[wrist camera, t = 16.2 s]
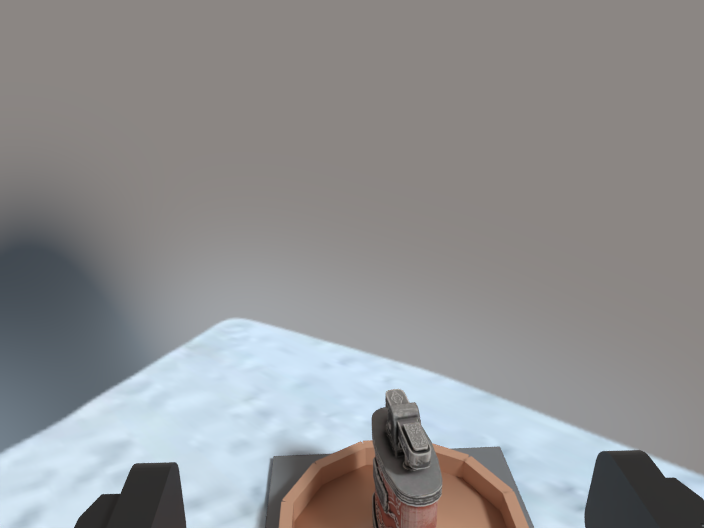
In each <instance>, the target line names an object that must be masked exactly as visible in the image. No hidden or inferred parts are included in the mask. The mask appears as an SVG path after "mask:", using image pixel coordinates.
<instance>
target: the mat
mask: <svg viewBox="0 0 704 528" xmlns="http://www.w3.org/2000/svg"><path fill="white" fill-rule="evenodd" d="M452 450H455V451H458V452H461V453H465V454H468V455H469V457H470V456H472V457H473V458H474V459H476V460H477V461H478V462H479V463H481V464H482V465H483V466H484V467H485V468H487V469H488V470H489V471H490V472H492V473H493V474H494V475H495V476H497V477H498V478H499V479H500V480H501V481H503V482H504V483H505V484H506V485H508V486H509V487H510V488H511V489H513V491H514V492H515V495H516V497H517V500H518V502H519V504H520V507H521V509H522V512H523V514H524V517H525V519H526V521H527V524H528V526H529V528H534V526H533V524H532V521H531V519H530V517H529V514H528V512H527V510H526V507H525V505H524V502H523V500H522V498H521V495H520V493H519V491H518V488H517V486H516V484H515V481H514V479H513V477H512V474H511V472H510V469H509V467H508V465H507V462H506V460H505V458H504V455H503V453H502V451H501V448H500V447H480V448H457V449H452ZM329 455H331V454H316V455H293V456H274V457H273V466H272V474H271V483H270V491H269V500H268V508H267V517H266V525H265V528H279V522H280V511H281V502H282V500H283V498H284V497H285V496H286V495H287V494H288V492H289V491H290V490H291V489H292V488H293V486H294V485H295V484H296V483H297V482H298V480H299V479H300V478H301V477H302V475H303V474H304V473H305V472H306V471H307V469H308V468H309V467H310V466H311V465H312V463H315V461H317V460H319V459H322V458H324V457H326V456H329Z"/></svg>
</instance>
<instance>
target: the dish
mask: <svg viewBox="0 0 704 528" xmlns="http://www.w3.org/2000/svg"><path fill="white" fill-rule="evenodd" d="M432 445H433V447H434V450H435V452H436V455H437V458H438V460H439V465H440V470H441V475H442V495H441V497H440V498H439V500H438V506H437V525H436V528H529V526H528V524H527V521H526V519H525V517H524V514H523V512H522V509H521V507H520V504H519V502H518V500H517V497H516V495H515V492H514V491H513V489H511V488H510V487H509V486H508V485H506V484H505V483H504V482H503V481H501V480H500V479H499V478H498V477H497V476H495V475H494V474H493V473H492V472H490V471H489V470H488V469H487V468H485V467H484V466H483V465H482V464H481V463H479V462H478V461H477V460H476V459H474V458H473V457H472V456H470V457H469V455H468V454H465V453H461V452H458V451H455V450H452V449H449V448H445V447H442V446H439V445H436V444H432ZM374 457H375V451H374V446H373V440H372V441H363V443H362V442H358V443H356V444H354V445H351V446H349V447H347V448H345V449H342V450H340V451H338V452H335V453H333V454H331V455H329V456H326V457H324V458H322V459H319V460H317V461H315V463H312V465H311V466H310V467H309V468H308V469H307V471H306V472H305V473H304V474H303V475H302V477H301V478H300V479H299V480H298V482H297V483H296V484H295V485H294V486H293V488H292V489H291V490H290V491H289V492H288V494H287V495H286V496H285V497H284V498H283V500H282V502H281V511H280V522H279V528H373V519H372V495H373V493H374V492H375V483H374V479H373V459H374Z"/></svg>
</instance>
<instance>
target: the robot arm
mask: <svg viewBox="0 0 704 528" xmlns="http://www.w3.org/2000/svg"><path fill="white" fill-rule="evenodd" d="M585 527H586V528H704V500H703V499H702V498H701V497H700V496H699V495H697V494H696V493H695V492H693V491H692V490H691V489H689V488H688V487H687V486H685V485H684V484H682V483H681V482H680V481H678V480H677V479H676V478H665V477H664V475H663V474H662V473H661V471H660V470H659V469H658V467H657V466H656V465H655V463H654V462H653V461H652V459H651V458H650V457H649V456H648V455H647V454H646V453H645V452H643V451H641V450H630V451H602V452H600V453H599V454H598V456H597V459H596V463H595V467H594V472H593V476H592V481H591V485H590V490H589V494H588V499H587V503H586V508H585ZM74 528H186V520H185V512H184V504H183V497H182V489H181V481H180V474H179V468H178V465H177V463H175V462H171V463H136V464H134V465H133V466H132V468H131V470H130V472H129V474H128V477H127V479H126V482H125V484H124V487H123V489H122V491H121V494H102V495H101V496H100V497H99V498H98V499H97V500H96V501H95V502H94V503H93V504H92V505H91V506H90V507H89V508H88V509H87V510H86V511H85V512H84V513H83V514H82V515H81V516H80V517H79V519H78V521H77V523H76V525H75V527H74Z"/></svg>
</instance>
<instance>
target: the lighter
mask: <svg viewBox="0 0 704 528" xmlns="http://www.w3.org/2000/svg"><path fill="white" fill-rule="evenodd" d="M372 440H373V446H374V451H375V457H374V459H373V479H374V483H375V492H374V493H373V495H372V519H373V528H436V525H437V506H438V500H439V498H440V497H441V495H442V475H441V470H440V465H439V460H438V458H437V455H436V452H435V450H434V447H433V445H432V442H431V440H430V439H429V437H428V436H427V434H426V432H425V431H424V429H423V427H422V426H421V420H420V415H419V410H418V407H417V405H416V403H415V402H414V403H409V401H408V399H407V397H406V395H405V393H404V391H403V390H400V389H393V390H388V391H387V392H386V407H384V408H380V409H378V410H376V411H375V412H374V413H373V415H372Z"/></svg>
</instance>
